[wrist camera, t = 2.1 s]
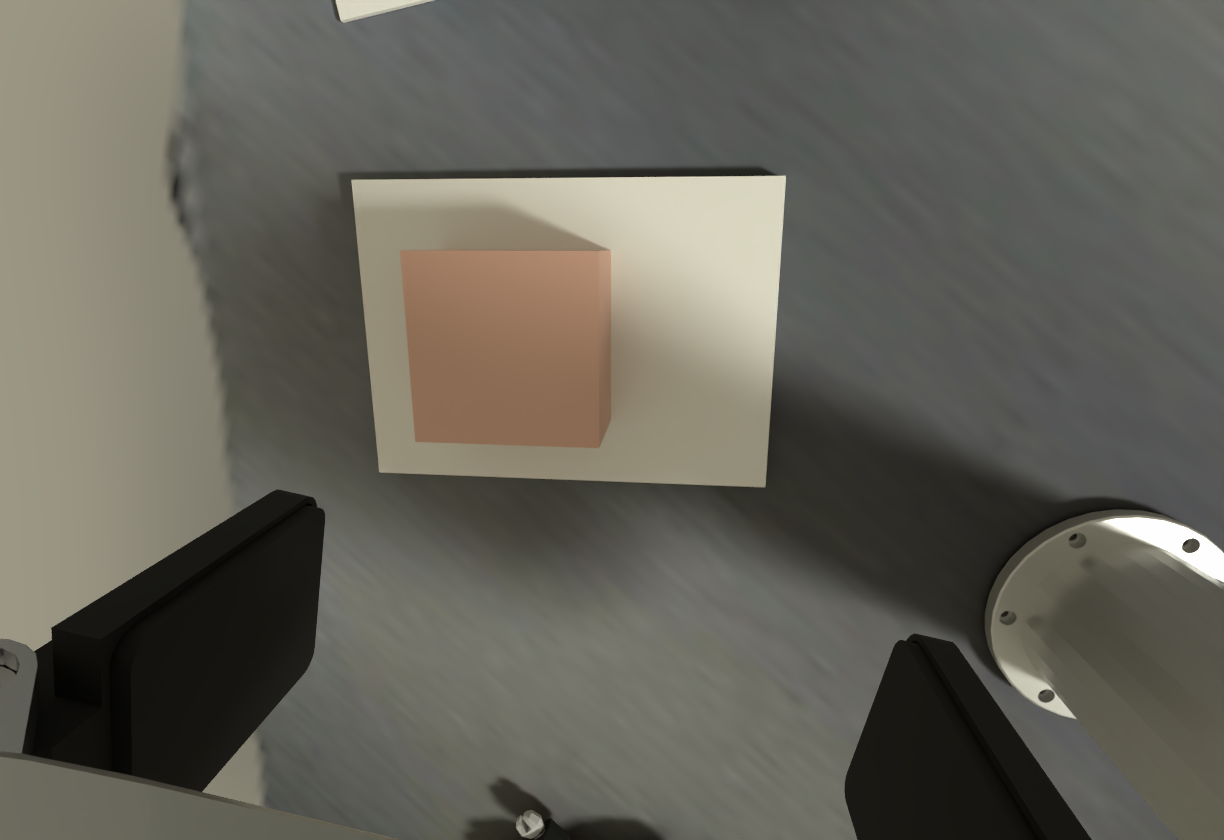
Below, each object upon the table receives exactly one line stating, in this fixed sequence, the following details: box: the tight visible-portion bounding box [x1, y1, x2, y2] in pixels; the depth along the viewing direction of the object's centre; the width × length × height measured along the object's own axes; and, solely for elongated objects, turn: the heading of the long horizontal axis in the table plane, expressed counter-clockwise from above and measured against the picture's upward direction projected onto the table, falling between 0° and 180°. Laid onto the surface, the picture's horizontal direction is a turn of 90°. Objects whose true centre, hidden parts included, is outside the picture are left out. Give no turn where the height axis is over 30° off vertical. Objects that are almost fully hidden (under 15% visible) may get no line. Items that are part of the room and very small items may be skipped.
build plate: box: [351, 176, 786, 487], centre depth 35 cm, size 22×16×1 cm
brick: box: [400, 250, 611, 448], centre depth 32 cm, size 9×9×5 cm
